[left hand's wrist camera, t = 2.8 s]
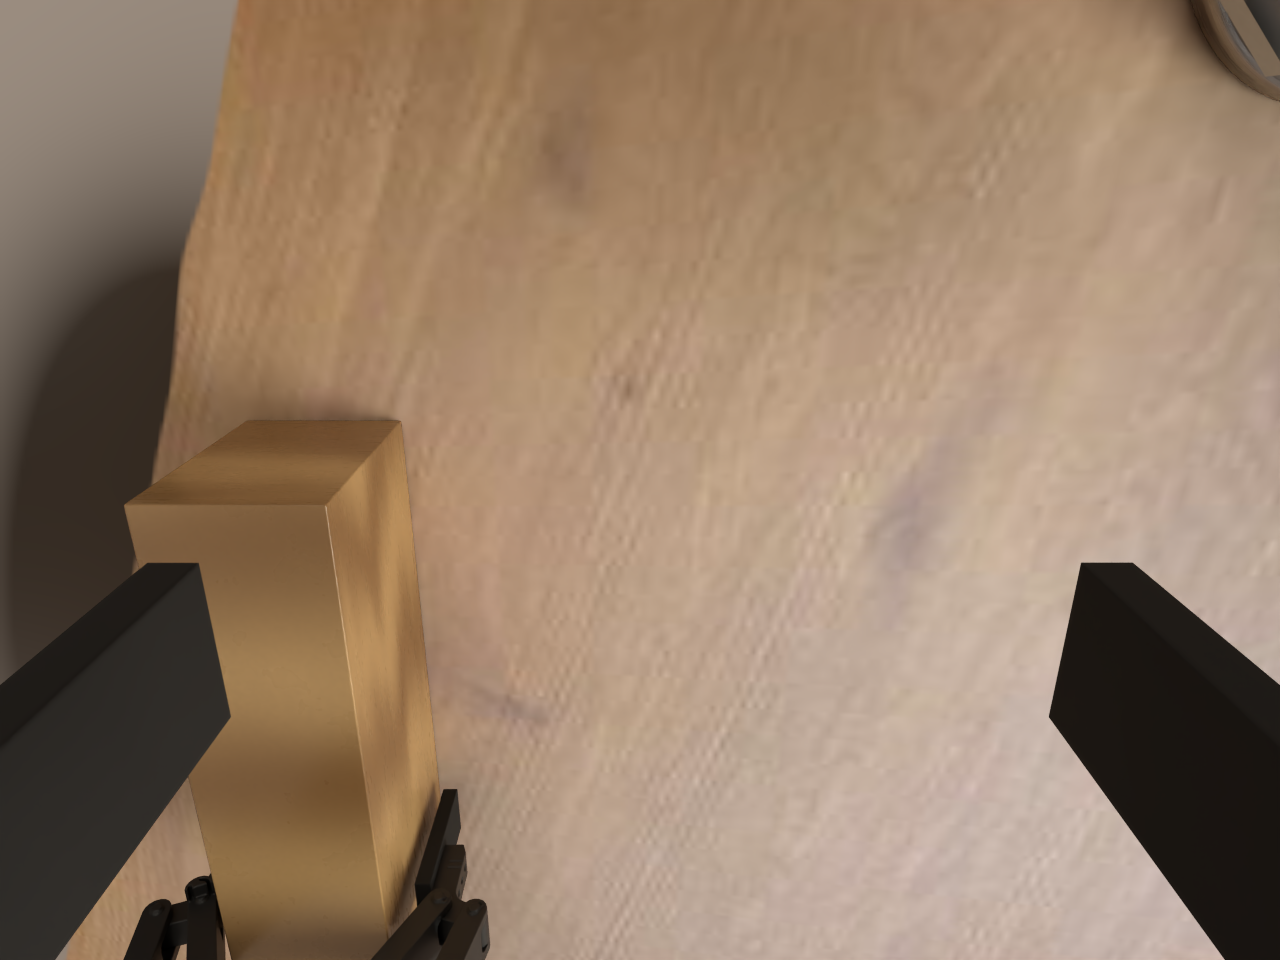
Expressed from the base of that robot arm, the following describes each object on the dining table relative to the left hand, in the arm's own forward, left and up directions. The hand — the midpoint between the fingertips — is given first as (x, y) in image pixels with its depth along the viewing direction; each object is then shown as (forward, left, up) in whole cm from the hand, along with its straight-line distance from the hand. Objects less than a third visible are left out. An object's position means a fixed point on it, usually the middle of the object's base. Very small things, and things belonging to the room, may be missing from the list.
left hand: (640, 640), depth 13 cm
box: (+23, -4, -28) cm, 36 cm away
